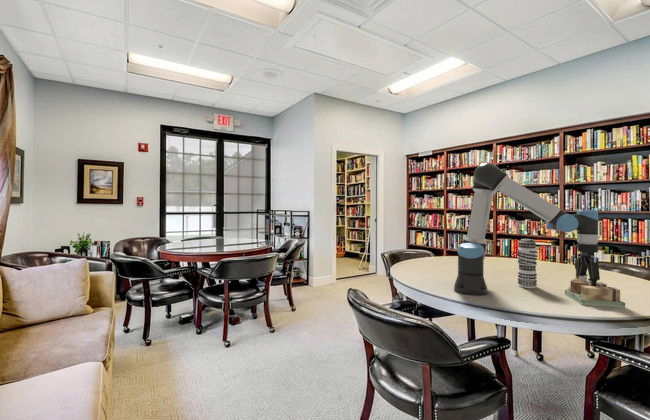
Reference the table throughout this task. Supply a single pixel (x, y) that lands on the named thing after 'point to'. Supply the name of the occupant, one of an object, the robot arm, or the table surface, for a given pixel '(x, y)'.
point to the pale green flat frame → (594, 301)
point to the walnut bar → (577, 285)
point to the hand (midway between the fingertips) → (587, 292)
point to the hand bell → (576, 274)
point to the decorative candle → (527, 263)
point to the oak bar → (600, 293)
